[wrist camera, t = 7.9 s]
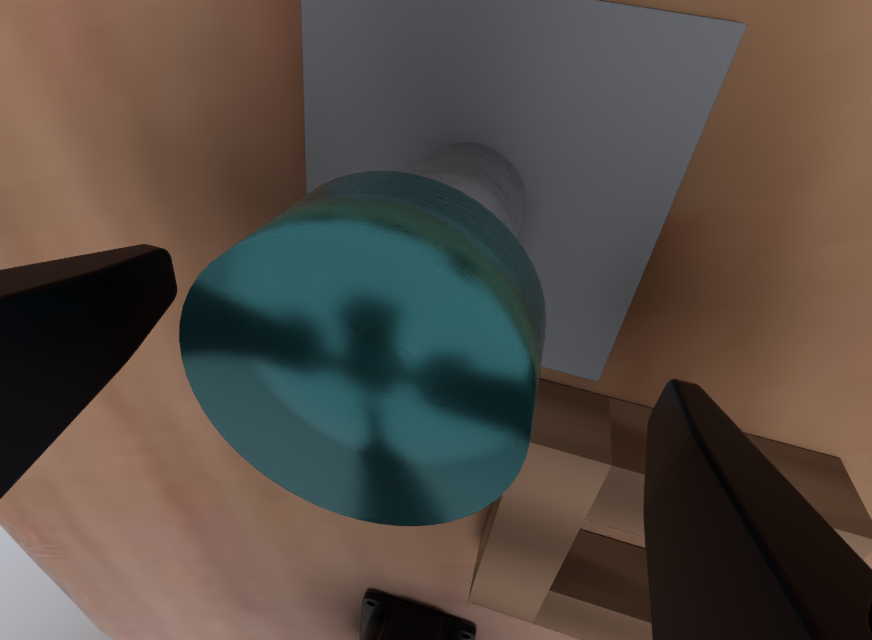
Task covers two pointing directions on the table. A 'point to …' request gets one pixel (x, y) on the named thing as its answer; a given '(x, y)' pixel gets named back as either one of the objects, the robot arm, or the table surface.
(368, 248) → the teal topped white bottle
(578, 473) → the eye block
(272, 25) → the table surface
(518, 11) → the slate mat
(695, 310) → the table surface
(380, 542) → the table surface
